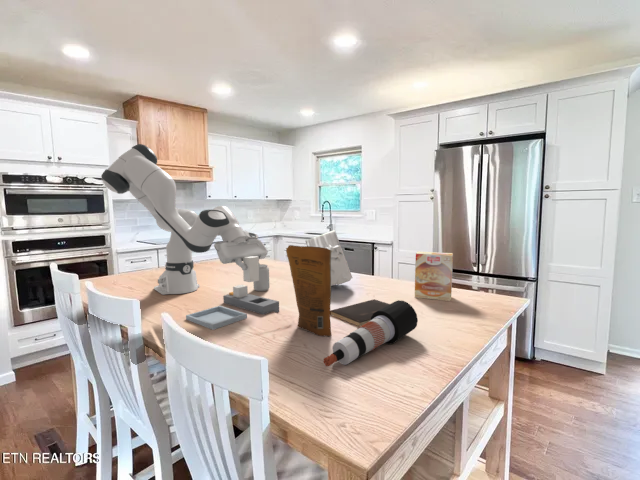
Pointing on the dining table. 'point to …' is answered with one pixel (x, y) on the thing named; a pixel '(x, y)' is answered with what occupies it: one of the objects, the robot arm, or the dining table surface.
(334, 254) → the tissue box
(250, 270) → the grey rectangular block
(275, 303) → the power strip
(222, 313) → the tray
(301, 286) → the pancake mix bag
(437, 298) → the coffeecake box
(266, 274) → the can
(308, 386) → the dining table surface
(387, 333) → the cable
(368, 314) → the hardcover book
